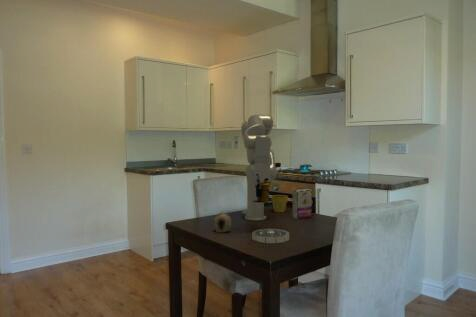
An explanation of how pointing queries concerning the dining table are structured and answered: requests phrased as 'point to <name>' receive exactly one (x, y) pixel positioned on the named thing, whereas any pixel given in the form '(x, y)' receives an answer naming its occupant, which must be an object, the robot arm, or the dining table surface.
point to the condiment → (264, 193)
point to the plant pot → (279, 202)
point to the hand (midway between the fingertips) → (262, 195)
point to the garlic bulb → (222, 222)
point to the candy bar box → (302, 203)
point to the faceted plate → (270, 235)
